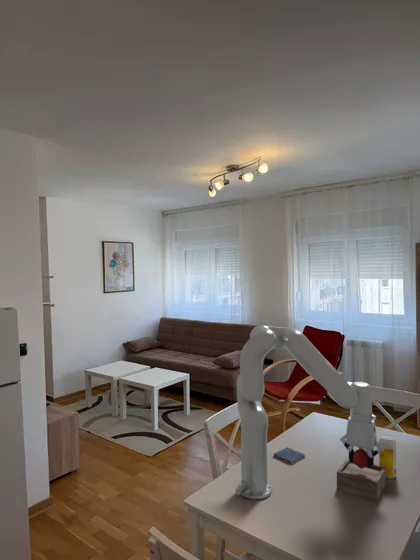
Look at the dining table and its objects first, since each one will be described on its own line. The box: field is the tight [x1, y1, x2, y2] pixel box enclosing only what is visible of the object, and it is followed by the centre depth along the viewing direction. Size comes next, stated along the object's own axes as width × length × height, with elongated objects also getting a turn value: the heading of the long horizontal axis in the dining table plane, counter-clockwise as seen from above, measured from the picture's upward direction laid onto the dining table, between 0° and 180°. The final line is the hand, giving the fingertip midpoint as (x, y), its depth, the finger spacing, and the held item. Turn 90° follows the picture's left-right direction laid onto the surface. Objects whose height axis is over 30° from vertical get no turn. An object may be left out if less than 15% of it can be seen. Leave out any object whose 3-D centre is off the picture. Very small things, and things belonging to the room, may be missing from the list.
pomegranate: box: [353, 447, 369, 469], centre depth 142 cm, size 6×6×8 cm
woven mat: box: [272, 446, 306, 466], centre depth 165 cm, size 10×11×2 cm
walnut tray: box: [336, 456, 387, 502], centre depth 142 cm, size 14×14×6 cm
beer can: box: [378, 434, 397, 480], centre depth 150 cm, size 6×6×15 cm
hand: (361, 463), depth 142 cm, fingers closed on pomegranate, 5 cm apart
